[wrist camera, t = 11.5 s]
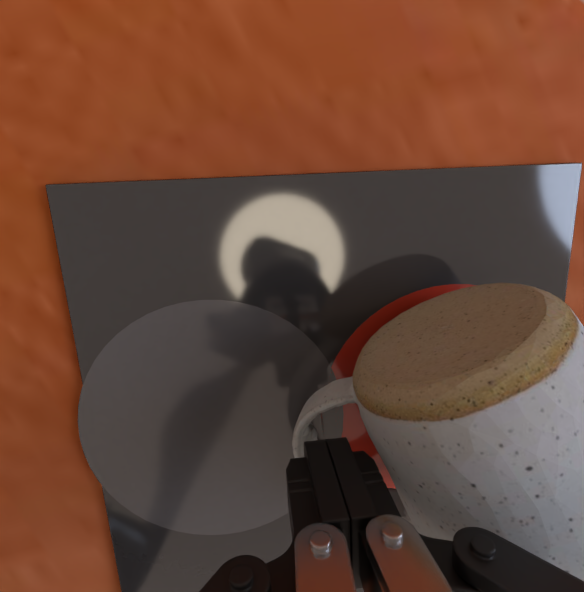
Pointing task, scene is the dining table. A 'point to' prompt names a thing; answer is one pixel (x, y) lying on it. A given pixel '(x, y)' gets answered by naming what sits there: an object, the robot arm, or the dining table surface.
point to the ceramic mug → (477, 416)
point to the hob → (263, 329)
